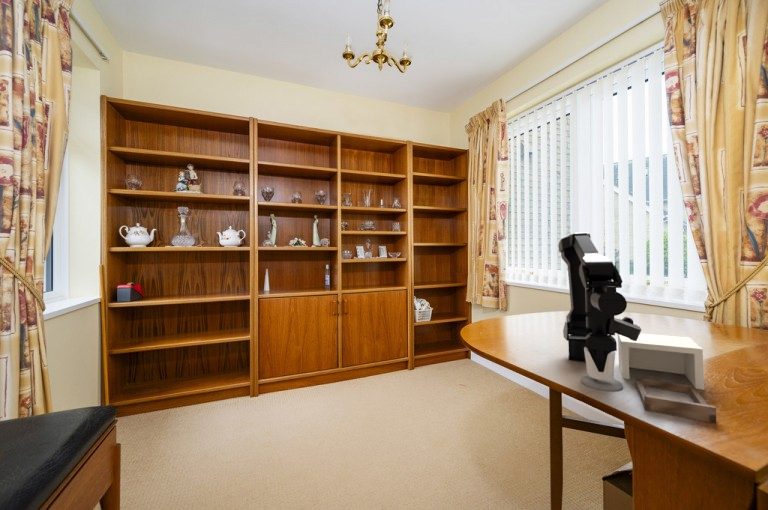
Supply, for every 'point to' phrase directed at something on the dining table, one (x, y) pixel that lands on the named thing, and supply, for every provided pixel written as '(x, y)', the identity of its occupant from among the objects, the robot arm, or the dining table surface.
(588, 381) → the coaster
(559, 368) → the dining table surface
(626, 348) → the cubby
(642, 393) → the tray
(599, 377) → the white tapered cup
